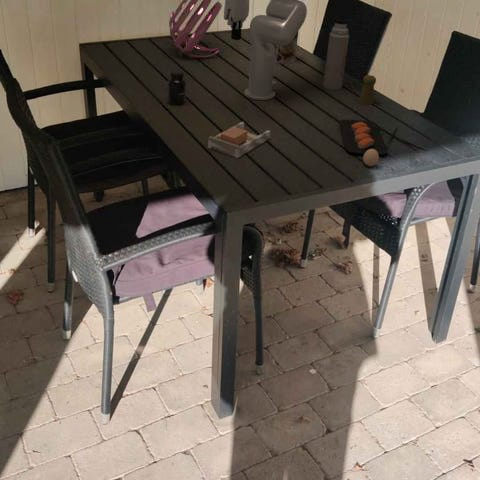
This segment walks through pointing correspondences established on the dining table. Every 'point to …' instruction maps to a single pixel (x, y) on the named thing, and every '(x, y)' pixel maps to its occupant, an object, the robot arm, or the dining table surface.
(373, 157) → the egg
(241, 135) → the brown rectangular block
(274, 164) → the dining table surface
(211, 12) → the spiral basket
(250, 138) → the dock
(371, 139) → the sushi plate
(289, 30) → the robot arm
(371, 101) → the pepper mill
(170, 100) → the supplement bottle
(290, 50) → the coffee box
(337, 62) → the thermos bottle
